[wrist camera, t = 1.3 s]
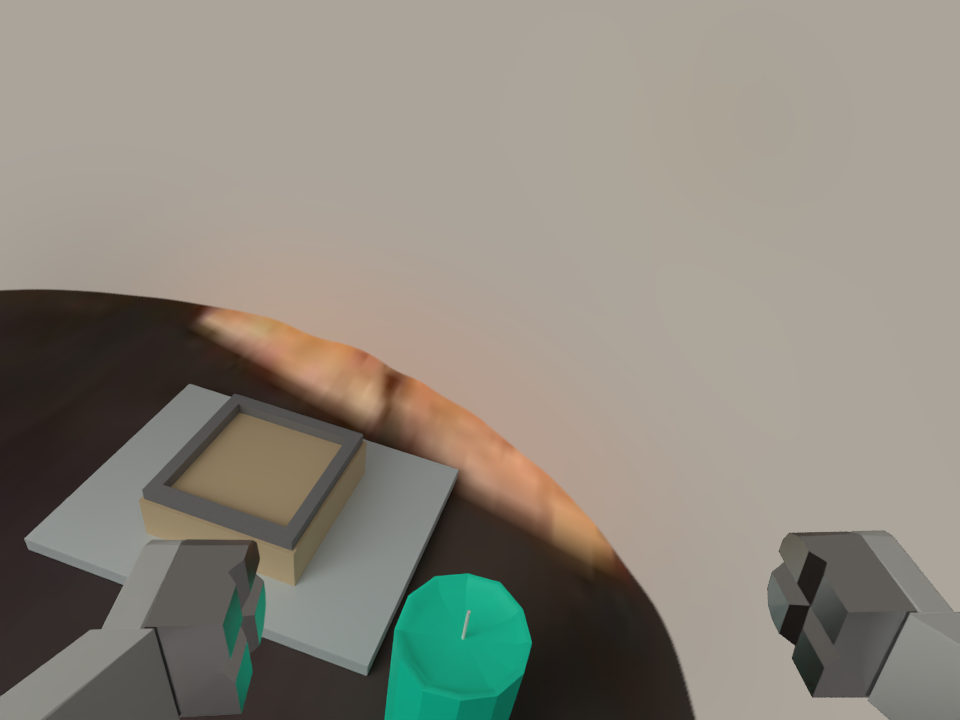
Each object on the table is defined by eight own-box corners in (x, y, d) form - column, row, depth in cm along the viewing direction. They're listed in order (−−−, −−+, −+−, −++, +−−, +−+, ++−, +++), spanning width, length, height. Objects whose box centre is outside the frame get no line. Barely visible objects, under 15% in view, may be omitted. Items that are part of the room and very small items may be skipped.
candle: (426, 667, 40) (449, 530, 32) (517, 730, 38) (564, 599, 30) (357, 758, 35) (366, 624, 28) (455, 836, 33) (493, 712, 26)
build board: (28, 549, 42) (7, 495, 39) (191, 393, 55) (183, 344, 52) (366, 676, 39) (370, 627, 36) (457, 479, 51) (465, 431, 48)
